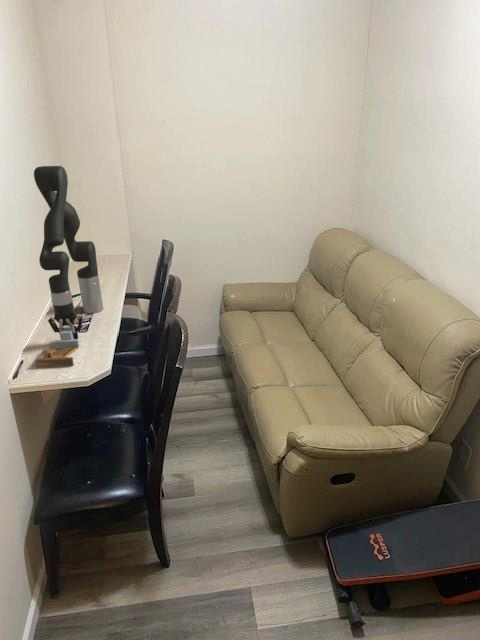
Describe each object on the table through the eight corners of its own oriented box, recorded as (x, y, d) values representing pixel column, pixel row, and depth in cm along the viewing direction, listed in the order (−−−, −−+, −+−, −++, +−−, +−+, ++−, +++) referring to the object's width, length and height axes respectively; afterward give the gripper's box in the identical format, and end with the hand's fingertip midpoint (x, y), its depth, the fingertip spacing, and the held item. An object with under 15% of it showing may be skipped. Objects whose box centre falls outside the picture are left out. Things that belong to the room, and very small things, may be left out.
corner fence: (48, 352, 185) (46, 345, 183) (81, 350, 185) (80, 343, 184) (37, 367, 173) (35, 360, 171) (72, 366, 173) (71, 358, 172)
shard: (79, 348, 187) (78, 344, 186) (81, 356, 181) (81, 352, 180) (50, 354, 183) (49, 350, 182) (52, 363, 177) (51, 358, 176)
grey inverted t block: (61, 338, 195) (59, 325, 193) (83, 337, 195) (81, 324, 193) (55, 348, 186) (52, 335, 184) (78, 347, 187) (75, 333, 184)
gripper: (83, 297, 188) (89, 335, 195) (47, 298, 188) (55, 337, 194) (78, 303, 181) (85, 343, 188) (40, 305, 181) (49, 345, 187)
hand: (69, 340), depth 191 cm, fingers closed on grey inverted t block, 4 cm apart
